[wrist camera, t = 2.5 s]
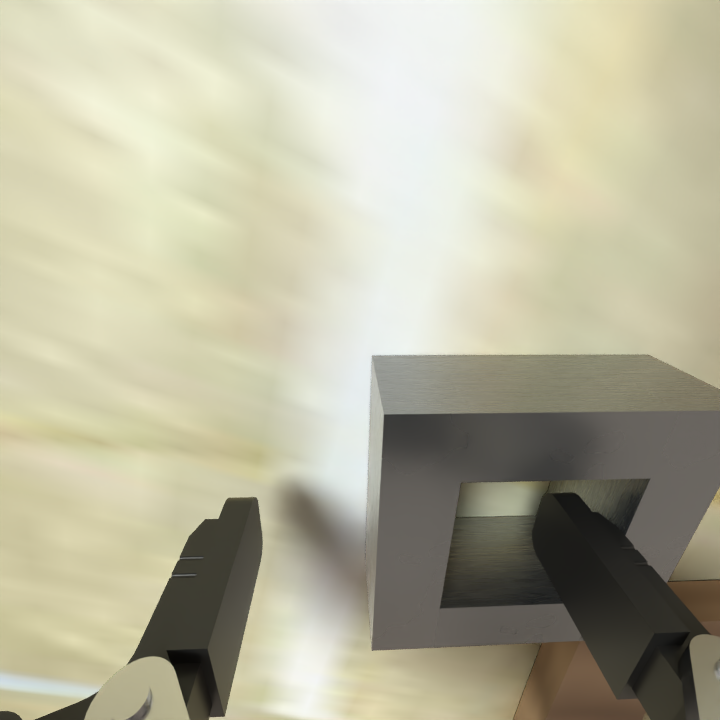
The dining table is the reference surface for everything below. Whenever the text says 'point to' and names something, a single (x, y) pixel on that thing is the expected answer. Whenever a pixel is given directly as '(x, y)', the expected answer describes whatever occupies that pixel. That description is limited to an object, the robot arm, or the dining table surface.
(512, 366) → the grey square frame
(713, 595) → the keeper block
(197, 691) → the robot arm
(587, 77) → the dining table surface
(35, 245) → the dining table surface
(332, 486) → the dining table surface
